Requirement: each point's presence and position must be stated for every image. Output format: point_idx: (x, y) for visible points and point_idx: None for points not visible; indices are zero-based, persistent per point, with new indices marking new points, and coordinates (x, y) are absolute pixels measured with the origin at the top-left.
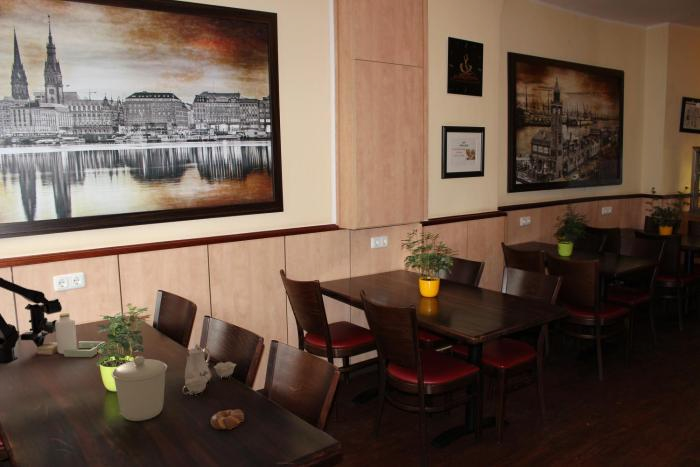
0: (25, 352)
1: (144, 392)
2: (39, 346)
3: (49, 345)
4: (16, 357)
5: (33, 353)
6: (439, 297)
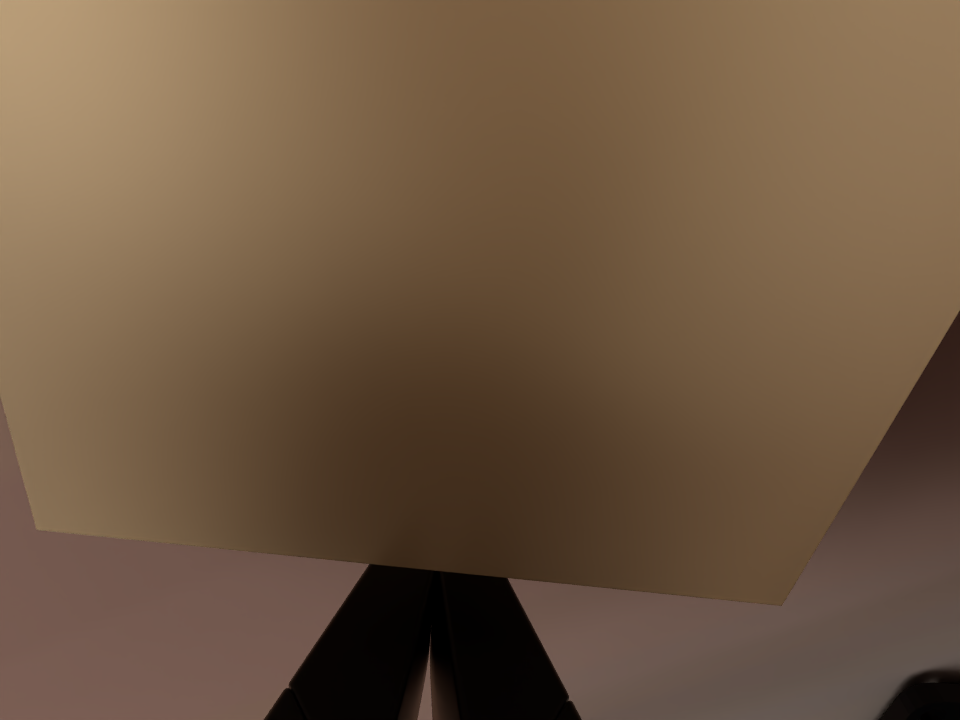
0: None
1: None
2: (659, 590)
3: (583, 239)
4: (957, 707)
5: None
6: None
